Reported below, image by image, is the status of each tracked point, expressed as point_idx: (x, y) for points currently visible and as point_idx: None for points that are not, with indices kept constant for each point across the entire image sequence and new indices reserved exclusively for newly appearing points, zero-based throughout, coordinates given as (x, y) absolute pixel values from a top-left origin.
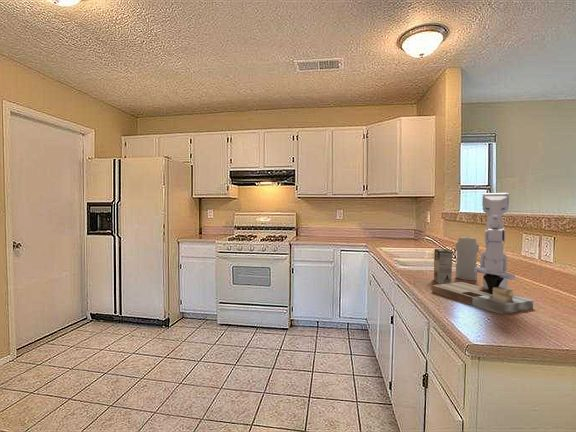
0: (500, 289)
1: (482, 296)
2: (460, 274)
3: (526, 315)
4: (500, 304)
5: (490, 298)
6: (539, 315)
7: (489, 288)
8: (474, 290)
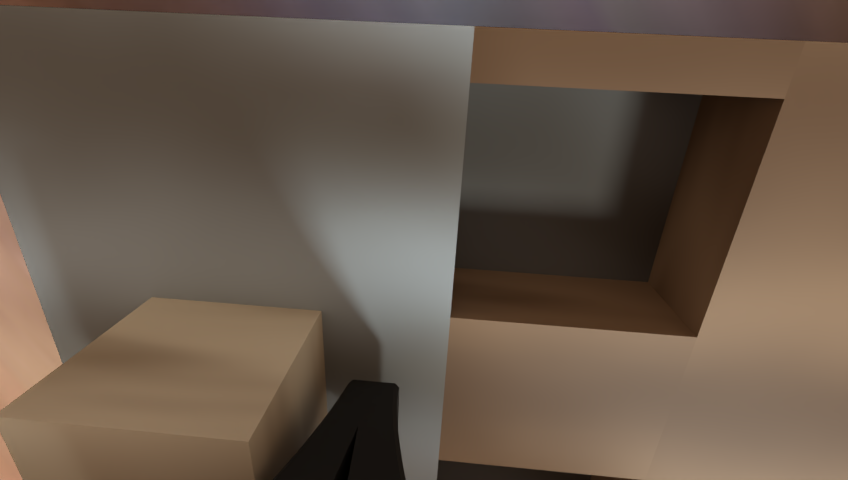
0: (85, 426)
1: (429, 251)
2: None
3: (21, 256)
4: (12, 75)
5: (310, 257)
6: (17, 354)
7: (374, 446)
8: (677, 440)
